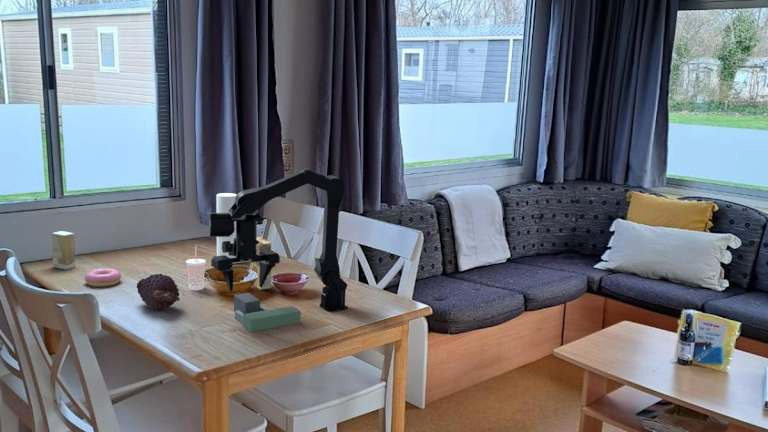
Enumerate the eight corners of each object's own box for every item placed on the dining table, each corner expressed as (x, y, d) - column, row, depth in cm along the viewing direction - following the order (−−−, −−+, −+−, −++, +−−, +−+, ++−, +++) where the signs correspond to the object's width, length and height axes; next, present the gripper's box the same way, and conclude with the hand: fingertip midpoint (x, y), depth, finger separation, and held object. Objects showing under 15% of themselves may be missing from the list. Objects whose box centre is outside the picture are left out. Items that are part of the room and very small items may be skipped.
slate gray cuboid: (248, 308, 199) (248, 292, 198) (259, 317, 192) (260, 300, 192) (233, 311, 196) (233, 294, 195) (245, 319, 190) (245, 302, 189)
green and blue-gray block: (281, 310, 198) (281, 298, 198) (300, 322, 189) (300, 310, 188) (233, 318, 190) (233, 306, 189) (250, 332, 180) (250, 319, 180)
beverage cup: (209, 288, 216) (209, 246, 213) (193, 292, 212) (192, 248, 209) (199, 284, 220) (199, 242, 217) (182, 287, 216) (181, 245, 213)
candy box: (271, 288, 219) (272, 242, 216) (259, 290, 216) (259, 244, 213) (260, 281, 226) (261, 237, 223) (248, 283, 224) (249, 238, 221)
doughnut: (77, 284, 215) (76, 271, 214) (105, 276, 224) (105, 264, 224) (100, 290, 210) (100, 277, 209) (128, 282, 219) (128, 269, 219)
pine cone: (125, 304, 198) (124, 271, 196) (155, 297, 205) (154, 265, 203) (162, 318, 187) (161, 284, 185) (191, 310, 195) (191, 277, 193)
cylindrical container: (240, 261, 250) (240, 194, 245) (226, 265, 244) (226, 197, 239) (226, 258, 253) (226, 192, 249) (212, 261, 247) (212, 194, 243)
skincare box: (52, 267, 231) (50, 232, 229) (62, 264, 235) (60, 230, 233) (66, 270, 229) (64, 235, 227) (76, 267, 233) (75, 232, 231)
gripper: (264, 227, 201) (263, 277, 204) (203, 233, 191) (204, 285, 194) (281, 235, 193) (280, 287, 196) (218, 241, 182) (218, 296, 185)
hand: (246, 288), depth 193 cm, fingers open, 9 cm apart
